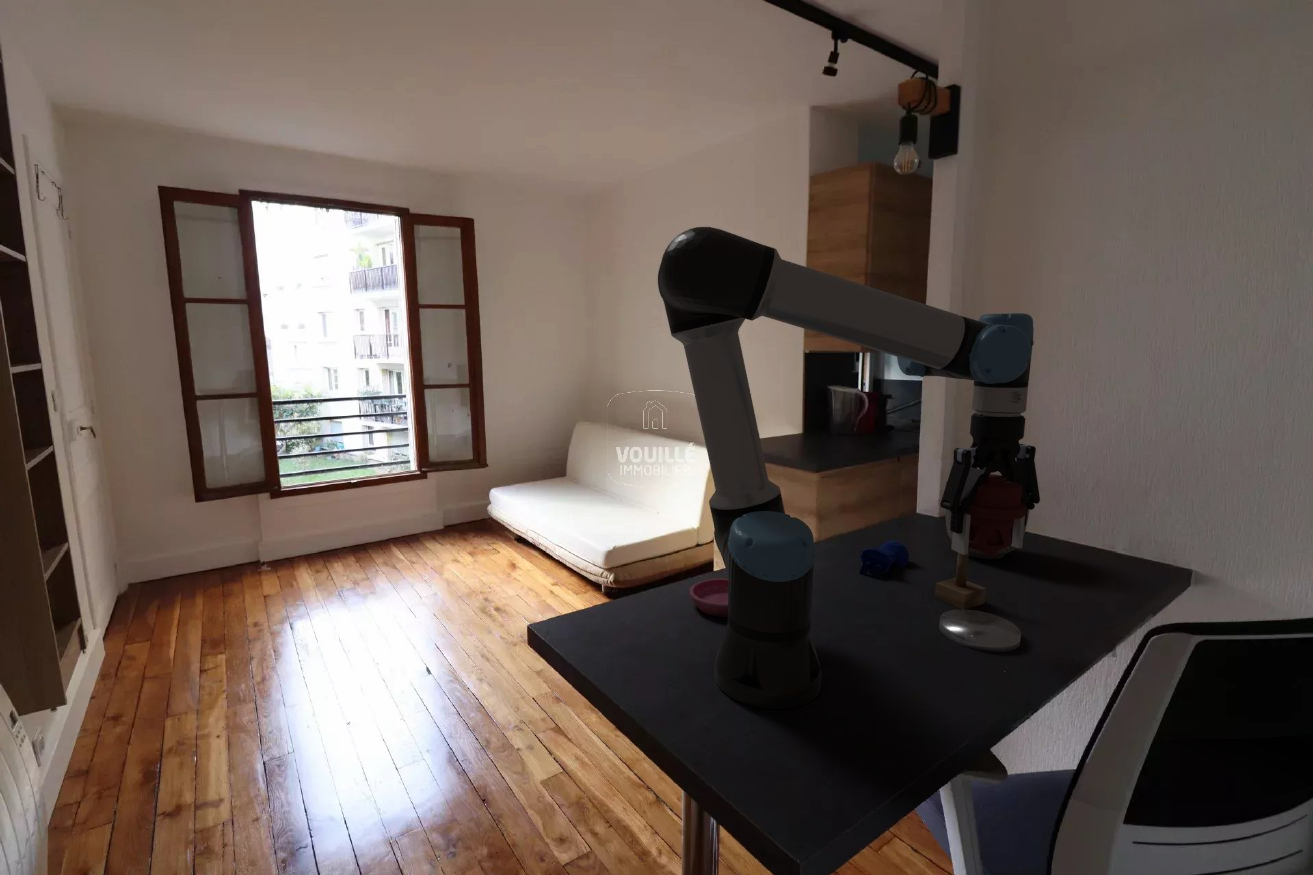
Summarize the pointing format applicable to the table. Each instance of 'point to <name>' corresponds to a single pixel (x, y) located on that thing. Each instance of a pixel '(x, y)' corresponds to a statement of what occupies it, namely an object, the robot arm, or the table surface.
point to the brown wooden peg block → (960, 588)
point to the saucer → (711, 596)
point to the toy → (883, 558)
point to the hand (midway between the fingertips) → (986, 548)
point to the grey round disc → (980, 630)
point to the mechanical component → (994, 514)
